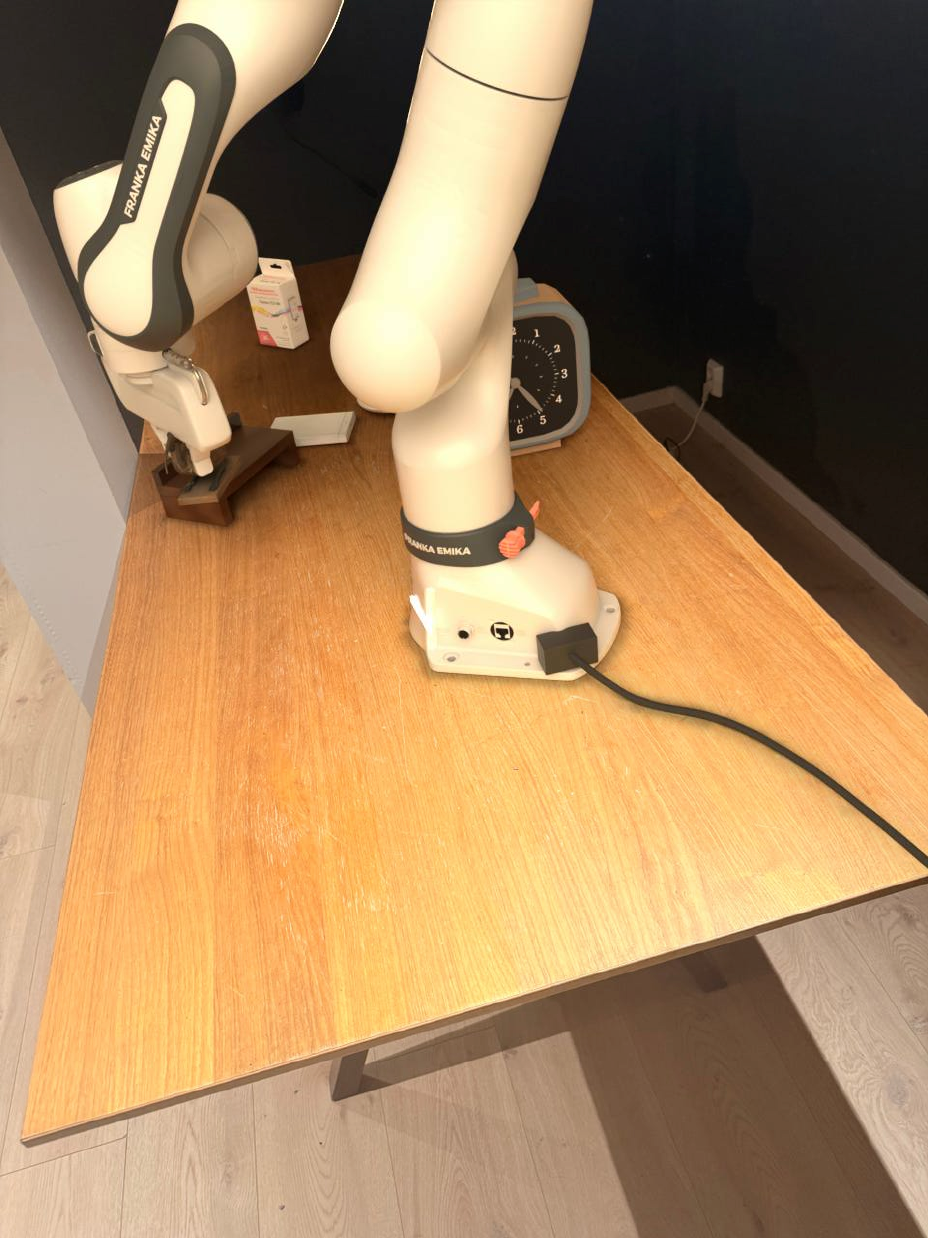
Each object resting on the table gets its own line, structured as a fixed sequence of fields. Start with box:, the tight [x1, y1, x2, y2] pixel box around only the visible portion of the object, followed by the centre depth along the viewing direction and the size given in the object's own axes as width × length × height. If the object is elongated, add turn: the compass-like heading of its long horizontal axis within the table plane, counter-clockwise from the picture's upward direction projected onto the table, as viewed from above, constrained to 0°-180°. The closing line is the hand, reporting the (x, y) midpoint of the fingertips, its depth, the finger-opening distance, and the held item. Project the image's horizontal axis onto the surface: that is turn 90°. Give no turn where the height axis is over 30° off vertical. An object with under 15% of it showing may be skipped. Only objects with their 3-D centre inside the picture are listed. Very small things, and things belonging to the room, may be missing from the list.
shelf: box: [151, 411, 301, 527], centre depth 130 cm, size 10×18×7 cm, turn 155°
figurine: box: [163, 432, 242, 505], centre depth 103 cm, size 14×4×9 cm, turn 175°
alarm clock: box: [508, 277, 592, 458], centre depth 127 cm, size 21×10×22 cm, turn 102°
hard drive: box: [270, 411, 357, 448], centre depth 143 cm, size 2×8×12 cm
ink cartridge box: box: [245, 256, 310, 350], centre depth 173 cm, size 9×5×15 cm, turn 58°
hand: (190, 463), depth 103 cm, fingers closed on figurine, 5 cm apart
